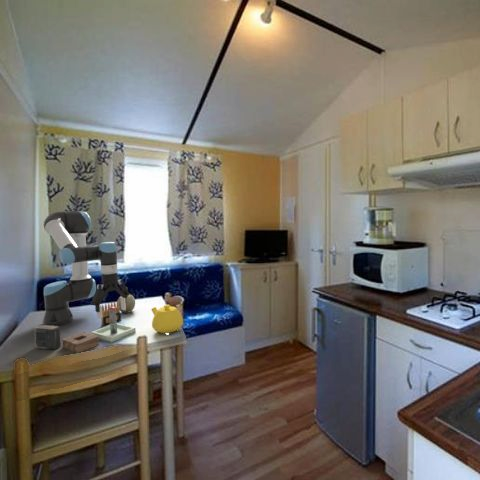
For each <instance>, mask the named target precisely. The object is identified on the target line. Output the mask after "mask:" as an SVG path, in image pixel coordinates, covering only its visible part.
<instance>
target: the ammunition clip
mask: <svg viewBox="0 0 480 480" xmlns="http://www.w3.org/2000/svg"><path fill="white" fill-rule="evenodd" d="M101 306H102V318H101V326H102V327H106V326H108V325H110V319H109V308H110V307H116V321H117V323H119V322H122V316H121V311H120V309H119V303H118V300H116V302H115V301H113V302H112V301H111V303H109V302H108V303H107V304H106V303H105V304H101Z"/></svg>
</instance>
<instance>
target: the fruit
mask: <svg viewBox="0 0 480 480" xmlns="http://www.w3.org/2000/svg"><path fill="white" fill-rule="evenodd" d="M121 297H122V296H121V295H120V296H119V297H118V299H117V301H118V303H119V309H120V313H123V314H127V313H131V312H132V311H134V309H135V306H136V300H135V297H134V296H133V295H132V294H131V293H129V295H128V297H127V298H126V310H121Z"/></svg>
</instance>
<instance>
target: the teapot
mask: <svg viewBox="0 0 480 480" xmlns="http://www.w3.org/2000/svg"><path fill="white" fill-rule="evenodd" d="M151 312H152V314H153V319H152V322H151V327H152V329H153V330H154V331H155V332H160V333H159V334H161V333H163V334H165V333H169V332H170V333H172V332H173V333H174V332H177V331H176V330H180V331H181V328H182V326H183V325H184V319H183V316H182V314H181V312H180V311H179V310H178V308H177V307H176V306H171V305H170V304H165V305H163V306H162V307H159V308H158V309H157V307H153V308H151Z"/></svg>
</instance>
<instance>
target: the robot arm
mask: <svg viewBox="0 0 480 480" xmlns="http://www.w3.org/2000/svg"><path fill="white" fill-rule="evenodd" d="M43 229H44V231H45V232H46V234H48V235H50V236H51V238H52V239H53V241H54V242H55V244H56V246H57V247H58V248H59V252H58V258H59V262H60V263H61V264H63V265H65V264H71V273H72V274H71V275H72V276H71V277H70V279H69V282H67V280H61V281H60V280H59V281H55V282H51V283H48V284H45V286H44V287H43V298H44V310H45V312H44V316H43V318H42V319H43V320H42V325H47V326H58V327H60V326H64V325H66V324H69V323H71V322H72V321H74V315H73V313H72V311H71V309H70V306H69V305H70V304H69V303H72V302H75V301H76V302H77V301H82V300H87V299H90V298H92V300H91V302H90V305H91V306H94V307H95V308H94V309H95V312H96V315H97V316H96V317H97V319H100V320H102V304H101V303H102V302H103V300H104V298H105V297H106V295H107V294H108V293H109V292H113V291H116V293H117V294H118V295H120V297H121V296H122V297H121V310H126V298H127V297H128V295H129V290H128V287H127V286H126V285H125V282H124V279H119V273H118V257H117V246H116V245H117V244H116V243H115V242H114V241H106V242H105V241H104V242H100V243H99V244H95V245H88V246H87V239H86V238H87V235H88V234H89V231H90V230H91V229H92V220H91V217H90V216H89V214H88V213H87V212H86V211H83V210H82V211H81V210H80V211H79V210H76V211H54V212H52V213H50V214H49V215H48V216H46V218H45V219H44V221H43ZM93 261H100V273H101V282H102V284H96V280H95V279H94V278H93V277H92V276H91V275H90V274H89V265H88V262H93ZM118 285H119V286H118Z"/></svg>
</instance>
